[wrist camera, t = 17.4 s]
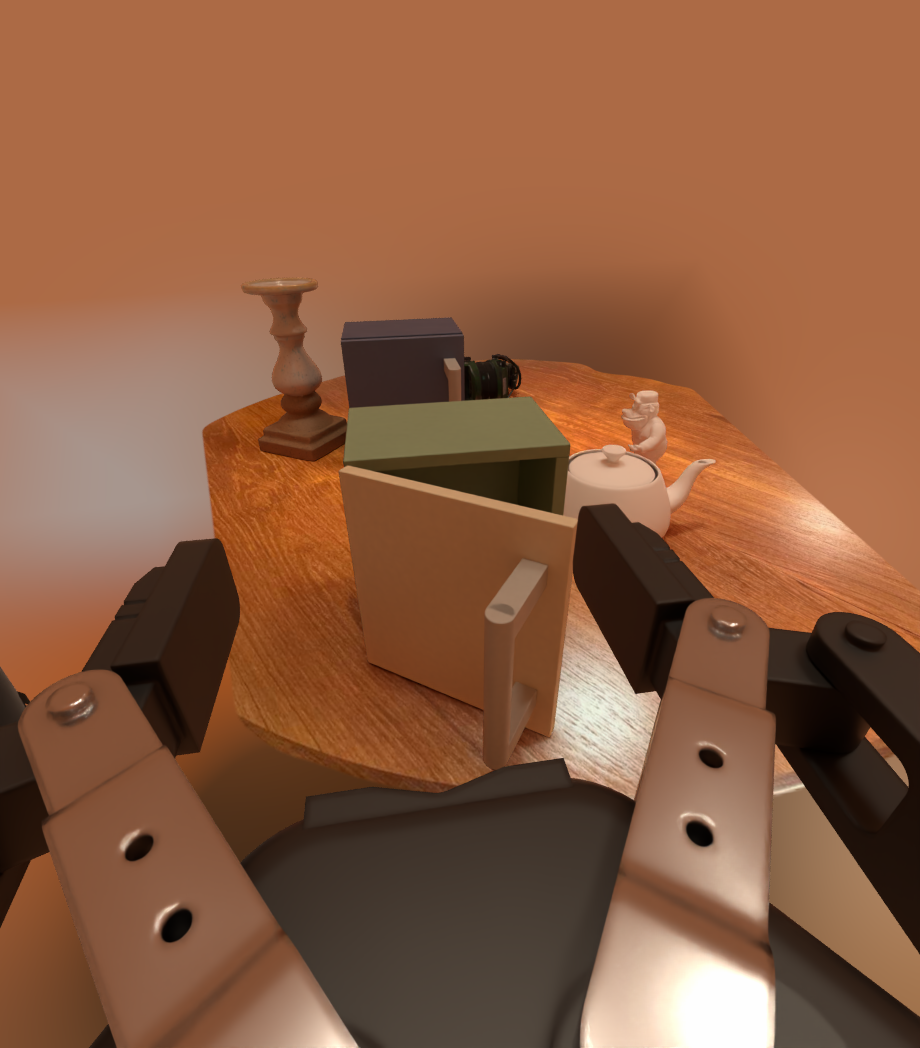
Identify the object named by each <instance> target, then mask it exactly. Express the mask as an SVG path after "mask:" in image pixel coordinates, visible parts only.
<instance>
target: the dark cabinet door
mask: <svg viewBox="0 0 920 1048" xmlns="http://www.w3.org/2000/svg"><path fill="white" fill-rule="evenodd" d="M341 347H342V354H343V362H344V370H345V377H346V385H347V393H348V400H349V408H357V407H373V406H389V405H405V404H421V403H437V402H453V401H465V395H464V336H463V334H454V335H434V336H413V337H392V338H371V339H351V340H341Z"/></svg>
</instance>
